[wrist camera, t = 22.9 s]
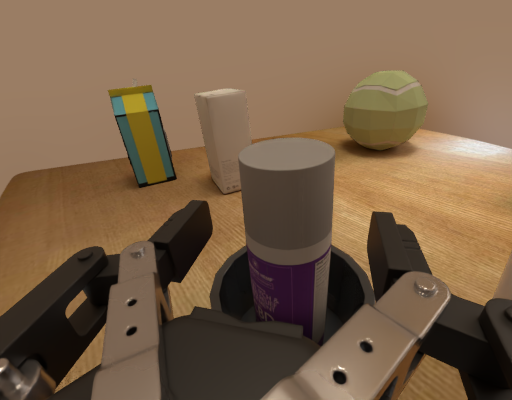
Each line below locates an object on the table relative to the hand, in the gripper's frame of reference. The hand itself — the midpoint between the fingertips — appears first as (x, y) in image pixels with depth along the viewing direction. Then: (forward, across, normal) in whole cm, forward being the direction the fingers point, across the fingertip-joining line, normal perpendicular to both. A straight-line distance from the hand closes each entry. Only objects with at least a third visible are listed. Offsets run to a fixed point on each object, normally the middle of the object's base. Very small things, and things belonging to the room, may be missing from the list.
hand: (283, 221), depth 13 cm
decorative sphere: (+50, -13, +13) cm, 53 cm away
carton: (+31, +32, +13) cm, 46 cm away
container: (+1, 0, +12) cm, 12 cm away
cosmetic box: (+29, +15, +13) cm, 35 cm away
